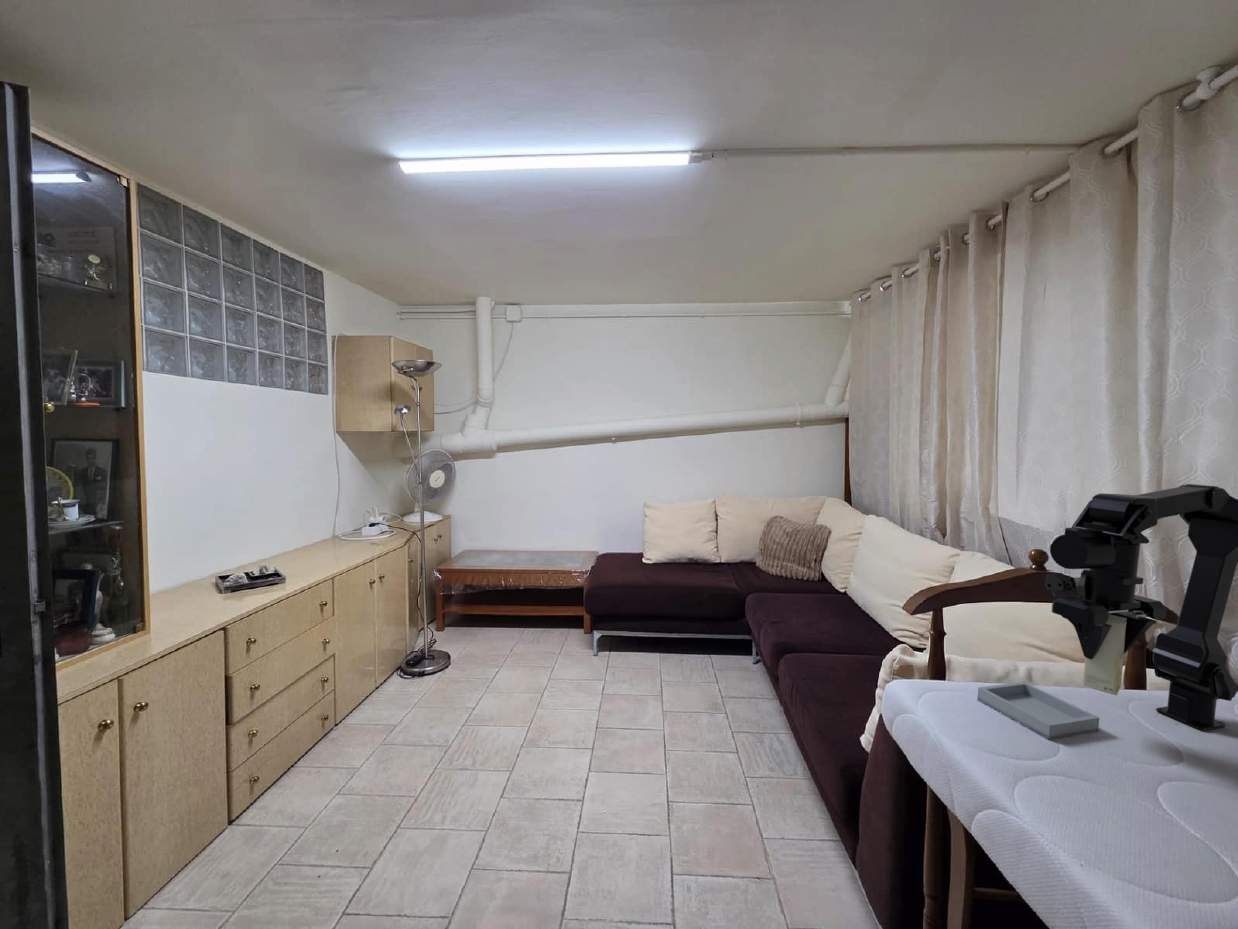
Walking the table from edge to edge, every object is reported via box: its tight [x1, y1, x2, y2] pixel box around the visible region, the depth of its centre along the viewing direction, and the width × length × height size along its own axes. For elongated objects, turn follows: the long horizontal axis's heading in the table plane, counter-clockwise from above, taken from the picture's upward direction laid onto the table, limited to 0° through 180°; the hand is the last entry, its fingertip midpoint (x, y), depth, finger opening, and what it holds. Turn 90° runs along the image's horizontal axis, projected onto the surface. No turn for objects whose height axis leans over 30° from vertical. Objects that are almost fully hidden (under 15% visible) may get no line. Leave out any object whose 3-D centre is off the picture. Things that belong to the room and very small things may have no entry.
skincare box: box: [1082, 615, 1127, 696], centre depth 86 cm, size 6×4×12 cm
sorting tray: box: [976, 681, 1100, 740], centre depth 91 cm, size 12×13×2 cm
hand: (1103, 656), depth 86 cm, fingers closed on skincare box, 7 cm apart
